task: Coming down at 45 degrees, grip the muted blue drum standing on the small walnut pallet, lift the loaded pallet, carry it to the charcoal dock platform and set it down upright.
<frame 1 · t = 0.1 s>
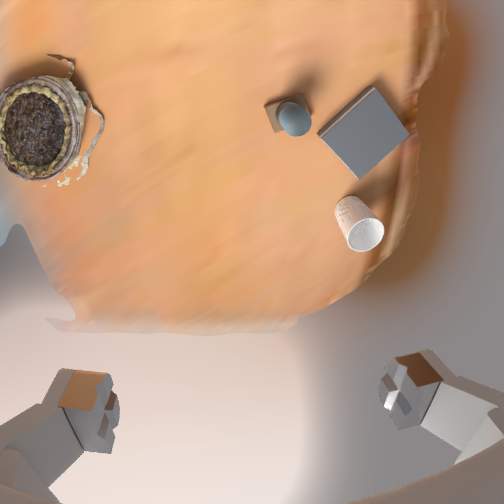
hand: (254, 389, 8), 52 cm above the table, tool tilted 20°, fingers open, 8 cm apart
loaded pallet: (287, 111, 53), on the table
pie: (40, 123, 48), on the table
white cup: (348, 208, 68), on the table
dock: (361, 130, 57), on the table
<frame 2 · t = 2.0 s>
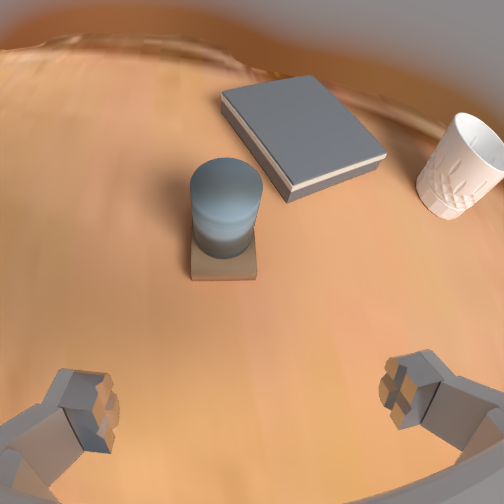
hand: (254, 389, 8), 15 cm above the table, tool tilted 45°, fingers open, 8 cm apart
loaded pallet: (222, 241, 27), on the table
white cup: (437, 196, 33), on the table
dock: (298, 137, 34), on the table
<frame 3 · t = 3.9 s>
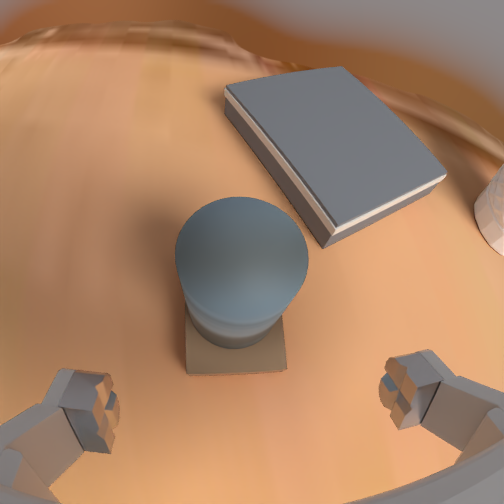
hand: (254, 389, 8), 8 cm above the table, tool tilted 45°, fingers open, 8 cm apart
loaded pallet: (232, 313, 18), on the table
white cup: (495, 226, 24), on the table
dock: (331, 149, 25), on the table
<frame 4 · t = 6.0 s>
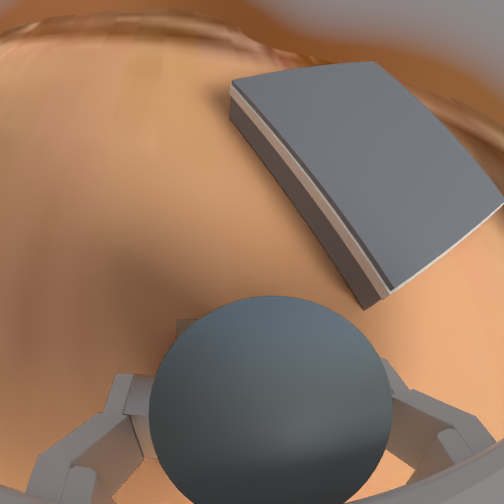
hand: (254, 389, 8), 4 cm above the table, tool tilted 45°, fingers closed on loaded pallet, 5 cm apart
loaded pallet: (244, 407, 12), on the table, touching gripper
dock: (367, 167, 19), on the table
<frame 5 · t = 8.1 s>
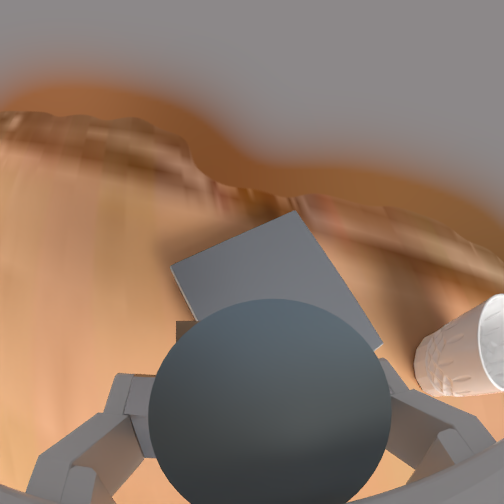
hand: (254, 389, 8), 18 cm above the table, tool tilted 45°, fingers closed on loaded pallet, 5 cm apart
loaded pallet: (243, 409, 12), point 13 cm above the table, touching gripper
white cup: (437, 364, 27), on the table
dock: (273, 317, 28), on the table
when the fingers open (9 cm above the table, at t = 10.6 s): loaded pallet drops 1 cm, resting on dock.
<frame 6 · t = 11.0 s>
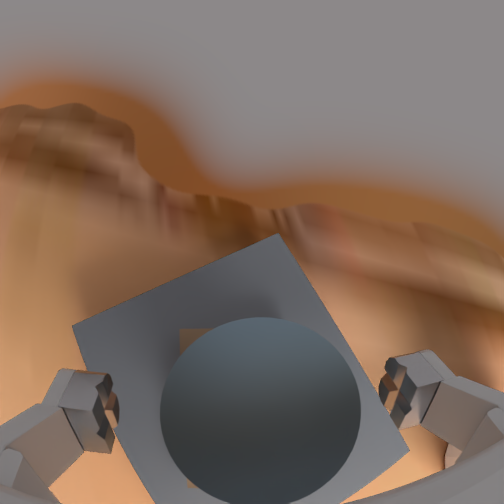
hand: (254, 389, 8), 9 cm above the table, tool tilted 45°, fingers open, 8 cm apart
loaded pallet: (240, 407, 13), point 3 cm above the table, touching dock
dock: (238, 405, 16), on the table
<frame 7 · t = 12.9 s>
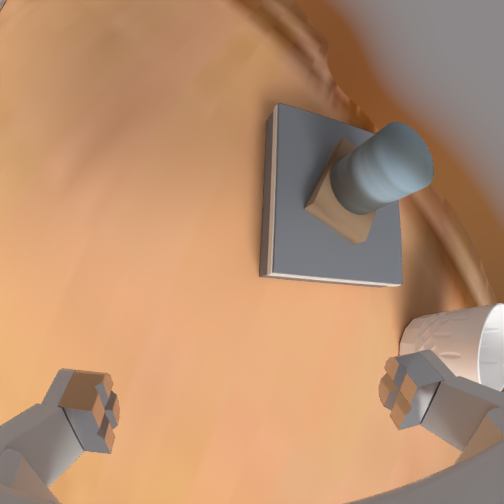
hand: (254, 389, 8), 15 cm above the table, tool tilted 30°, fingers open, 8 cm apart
loaded pallet: (344, 192, 25), point 3 cm above the table, touching dock
white cup: (418, 347, 29), on the table
dock: (327, 203, 28), on the table
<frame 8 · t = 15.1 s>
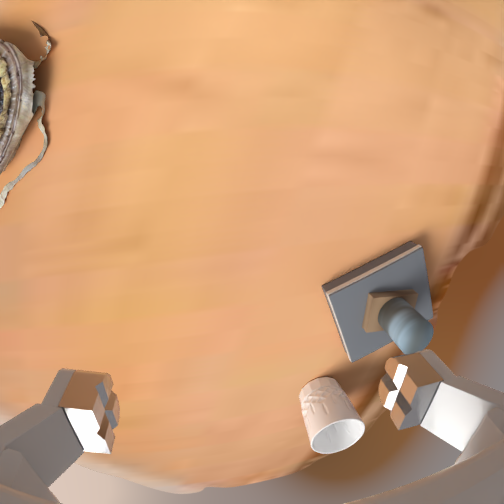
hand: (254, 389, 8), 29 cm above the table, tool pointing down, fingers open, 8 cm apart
loaded pallet: (387, 308, 40), point 3 cm above the table, touching dock
white cup: (318, 391, 47), on the table
dock: (378, 298, 43), on the table
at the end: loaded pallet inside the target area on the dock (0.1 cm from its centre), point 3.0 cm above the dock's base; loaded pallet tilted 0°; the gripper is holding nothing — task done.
